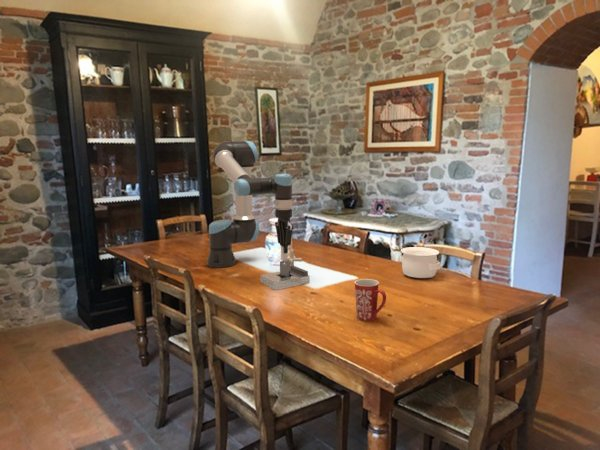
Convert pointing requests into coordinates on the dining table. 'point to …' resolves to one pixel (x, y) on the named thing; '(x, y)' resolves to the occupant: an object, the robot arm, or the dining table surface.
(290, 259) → the tan toy jack
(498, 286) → the dining table surface
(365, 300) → the mug
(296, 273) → the block
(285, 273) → the dark steel cylinder
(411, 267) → the pot
